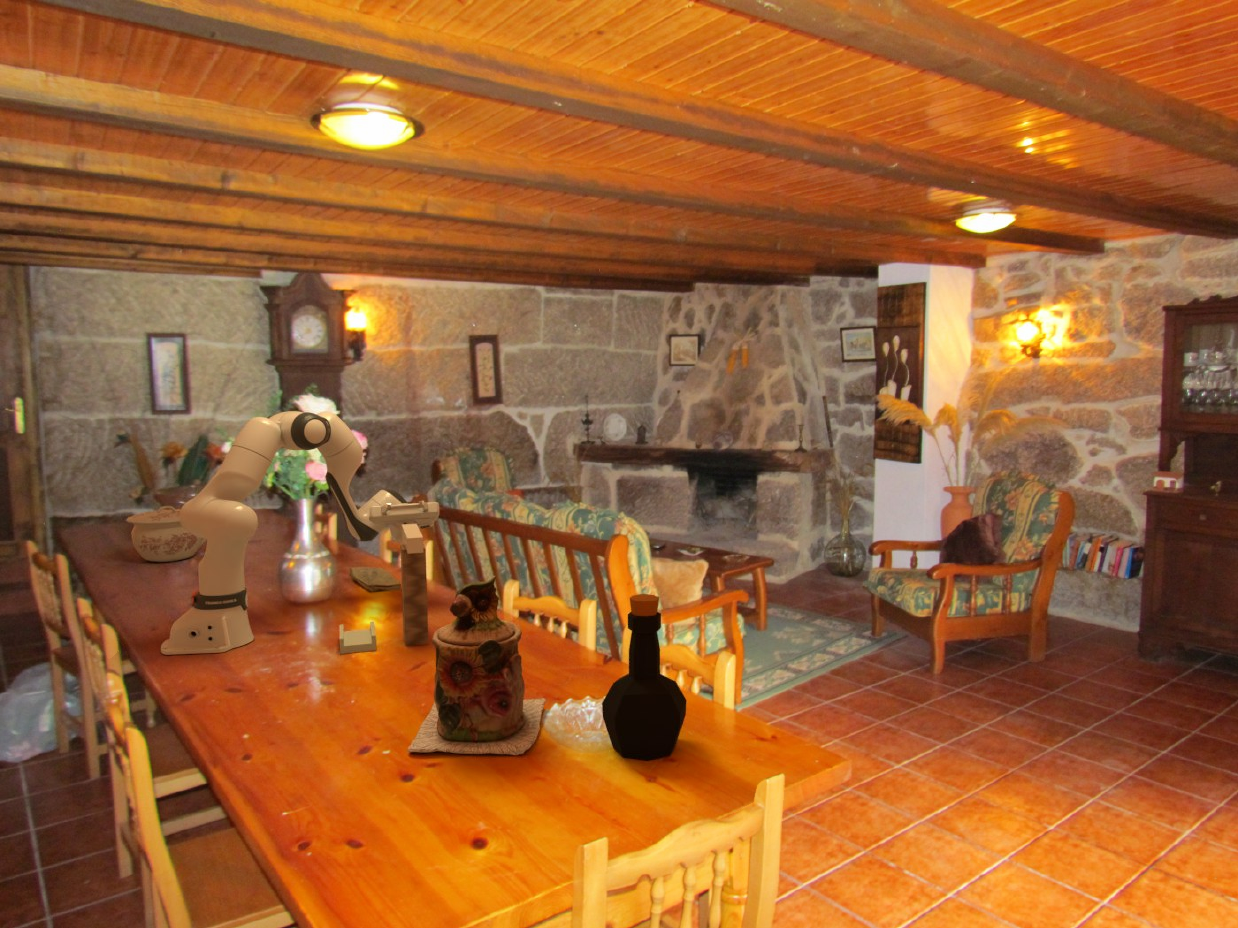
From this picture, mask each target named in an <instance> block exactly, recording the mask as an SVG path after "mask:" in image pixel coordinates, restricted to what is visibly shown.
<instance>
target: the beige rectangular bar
mask: <svg viewBox="0 0 1238 928" xmlns="http://www.w3.org/2000/svg"><path fill="white" fill-rule="evenodd" d="M402 539H403V542H404V543H403V545H405V548H406V551H407V554H411V553H423V544H424V536H423V534H422V532H421V529H419V528H418V526H417V524H404V525H402Z"/></svg>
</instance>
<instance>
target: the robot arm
mask: <svg viewBox="0 0 1238 928" xmlns="http://www.w3.org/2000/svg"><path fill="white" fill-rule="evenodd" d="M280 449H286V450H291V451H311V450H315V449H317V450H318V452H319V454H321V456H322V457H323V459H324V460H325V463H326V473H325V476H324V477H325V480H326V484H327V487H328V488H329V491H330V492H331V494H332V497H333V498H334V500H335V502H336V504H337V507H338V508H339V511H340V513H341V514H342V517H343V518H344V521H345V524H346V526H347V528H348V531H349V533H350V534H351V535H352V537H354V539H356V540H357V541H359V542H363V543H364V542H372V541H374V539H376V537H377V536H378V535H380V533H381V532H382V531H383V530H384V529H385V528H386V527H387V526H388V525H389V530H390V533H391V536H392V538H393V539H394V541H395V542H397V543H400V544H404V542H403V539H402V525H404V524H417V526H418V528H419V530H422V529H427V528H432V527H433V526H435V522H436V521H438V519H439V516H440V503H439V502H437V501H429V502H426V501H425V500H419V501H418V502H417V503H409V502H408V501H407V500H406V499H405V497H403V496H402V495H401V494H400V493H398V491H396V490H393V489H388V488H383V489H380V490H379V491H378V492H376V493H375V494H374V495H373V496H372V497H371V498H370V499H369V500H368V501H367V502H365V503H364V504H363V505H362V506H361V507H360V508H358V509H357V507H356V504H355V502H354V500H353V498H352V497H351V494H350V492H349V490H350V489H349V488H350V484H351V481H352V479H353V477H354V476H355V474H356V472H357V470H358V469H359V468H360V466H361V463H362V460H363V457H364V456H363V453H364V451H363V447H362V444H361V442H360V441H359V440H358V438H357V437H356V435H355V434H354V432H353V431H352V430H351V429H350V427H349V426H348V425H347V424H346V422H344V421H343V420H342V419H341V418H340V417H339V416H338V415H337V414H336V413H334V412H332V411H330V410H329V411H328V410H326V411H322V412H321V411H320V412H319V413H318V412H317V413H313V412H311V411H310V412H309V411H307V412H303V411H297V410H290V411H289V410H287V411H277V412H275V413H272V414H271V415H270V414H269V416H268V417H263V416H255V417H252V418H250V419H249V420H248V421H247V422H246V423H245V425H244V426H243V427H242V429H241V430H240V431H239V433H238V434H237V435H236V437H235V439H234V441H233V443H232V445H231V446H230V448H229V450H228V451H227V454H226V456H225V457H224V459H223V461H222V463H221V465H220V466H219V468H218V470H217V471H216V473H215V474H214V476H213V477H212V478H211V479H210V480H209V482H208V483H207V484H206V485H205V486H204V487H203V488H202V490H201V491H200V492H198V494H197V495H195V496H193V498H191V499H189V500H188V501H187V502H185V503H184V504H183V505H182V507H181V508H180V509H181V511H180V515H179V518H180V523H181V525H182V527H183V528H184V529H185V530H187V531H188V532H190V533H191V534H193V535H195V536H197V537H202V538H206V539H207V540H206V547H205V548H206V549H205V553H204V556H203V558H202V559H200V560H199V563H198V565H197V572H198V585H199V587H198V588H199V590H195V591H193V593H192V594H191V599H190V601H191V607H190V608H189V609H188V610H186V612H185V613H183V614H182V615H181V616H180V617H179V618H177V619H176V620H175V621H174V623H173V624H172V625H171V628H170V632H169V638H167V639H166V640H164V641H163V642H162V644H161V645H160V653H161V654H162V655H165V656H166V655H169V656H171V655H189V654H190V655H191V654H192V655H193V654H215V653H225V652H227V651H230V650H232V649H235V648H239V647H241V646H245V645H246V644H250V643H251V642H253V640H254V639H255V636H254V634H253V631H252V627H251V624H250V620H249V616H248V610H247V609H248V607H249V603H248V601H249V600H248V597H249V596H248V592H247V588H246V586H245V562H244V561H245V557H246V556H245V555H246V550H247V546H248V543H249V540H250V539H251V538H252V537H253V536H254V535H255V533H256V532H257V529H258V527H259V526H258V525H259V519H258V518H259V517H258V515H257V513H256V512H255V510H254V509H252V507H249V506H248V505H246V504H244V503H243V501H245V500H246V498H248V497H249V496H250V495H251V494H253V493H255V492H256V491H257V490H258V489H259V488H260V487H261V485H262V482H263V480H264V479H265V476H266V474H267V472H268V470H269V468H270V467H271V465H272V463H273V460H274V458H275V455H276V454H277V452H278V451H279V450H280Z"/></svg>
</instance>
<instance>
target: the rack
mask: <svg viewBox="0 0 1238 928" xmlns="http://www.w3.org/2000/svg"><path fill="white" fill-rule="evenodd" d="M369 627H370V628H366V629H355V630H346V631H345V630H344V628H345V627H344V623H343V624H339V654H340V655H342V654H343V655H344V654H354V653H355V652H356V653H365V652H373V651H374V652H375V651H377V637H376V635H377V634H376V628H375V627H376V626H375V621H369Z"/></svg>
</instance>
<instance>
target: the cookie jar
mask: <svg viewBox="0 0 1238 928" xmlns="http://www.w3.org/2000/svg"><path fill="white" fill-rule="evenodd" d="M496 578H497V575H493V576H492V577H491V578H490V579H489V580H487V581H486V580H483V581H476V582H470V583H467V584H464V585H463V586H461V587H460V588H458V590H457V591H456V593H455V596H454V600H453V602H452V603H451V605H450V606H449V611H450V613H451V614H452V615H453V616H454V617H456V619H454V620H453V621H452V622H451V623H448V624H445V625H444V626H442V627H440V628H438V629H436V630H435V631H434V633H433V635H432V638H431V642H432V643H431V644H432V645H433V646H434V647H435V673H434V690H433V691H434V692H433V698H434V699H433V700H434V703H433V704H432V707H431V709H430V712H428V714H427V716H426V718H425V719H424V720H423V721H422V723H421V725H420V726H419V730H418V731H417V733H416V735H415V737H414V738H413V739H412V742H411V744H410V745H409V746H408V747H407V751H408V753H409V754H410V753H422V754H423V753H434V752H444V753H452V754H469V755H470V754H471V755H473V754H474V755H513V756H519V755H523V754H525V752H527V751H528V750H529V749H531V747H532V746H533V745H534V744H535V742H536V741H537V738H538V737H537V736H538V735H539V734H538V733H539V732H540V730H541V727H540V723H541V720H542V715H543V714H542V712H543V710H544V707H545V703H546V702H547V700H546V698H534V699H530V698H529V699H524V697H525V692H526V687H525V680H524V677H523V667H522V655H521V654H520V651H519V642H520V640H521V639H522V635H523V632H522V629H521V628H520V626H519V625H518V624H516V623H515V622H512V621H507V620H503V619H500V618H499V617H498V606H499V601H500V597H499V596H498V595H497V587H496V586H495V582H496Z"/></svg>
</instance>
